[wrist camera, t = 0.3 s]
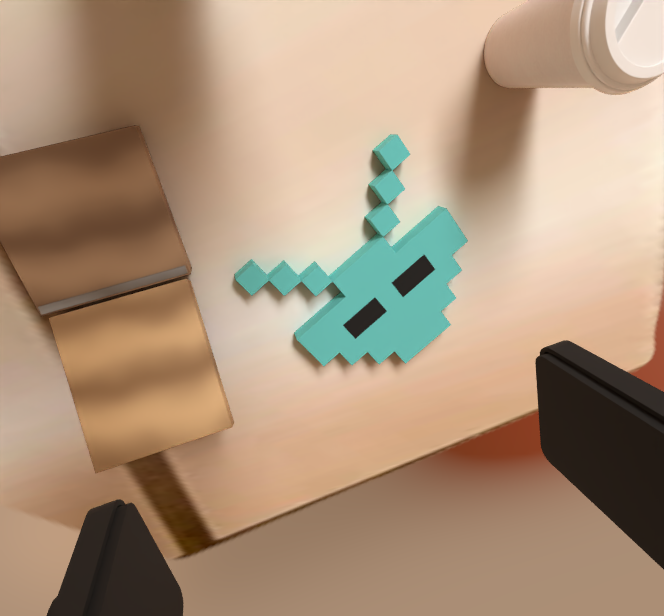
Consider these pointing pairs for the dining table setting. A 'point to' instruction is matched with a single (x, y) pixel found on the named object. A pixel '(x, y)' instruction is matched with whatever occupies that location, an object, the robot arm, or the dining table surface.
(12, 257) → the walnut board
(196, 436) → the oak plank
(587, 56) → the coffee cup
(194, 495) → the dining table surface
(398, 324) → the alien figure
